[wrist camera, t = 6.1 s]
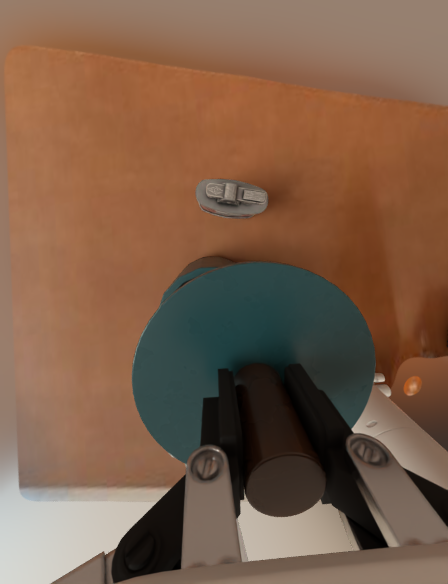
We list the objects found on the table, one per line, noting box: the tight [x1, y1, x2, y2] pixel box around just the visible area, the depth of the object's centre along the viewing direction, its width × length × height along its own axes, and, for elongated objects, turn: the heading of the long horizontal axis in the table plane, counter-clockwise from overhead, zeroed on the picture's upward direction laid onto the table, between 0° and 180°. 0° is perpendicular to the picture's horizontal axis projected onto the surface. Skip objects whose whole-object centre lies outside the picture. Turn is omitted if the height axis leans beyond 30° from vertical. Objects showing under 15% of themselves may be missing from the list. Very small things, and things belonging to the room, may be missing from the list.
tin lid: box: [132, 261, 376, 517], centre depth 10 cm, size 13×13×6 cm
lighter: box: [196, 179, 268, 219], centre depth 27 cm, size 8×3×10 cm, turn 82°
